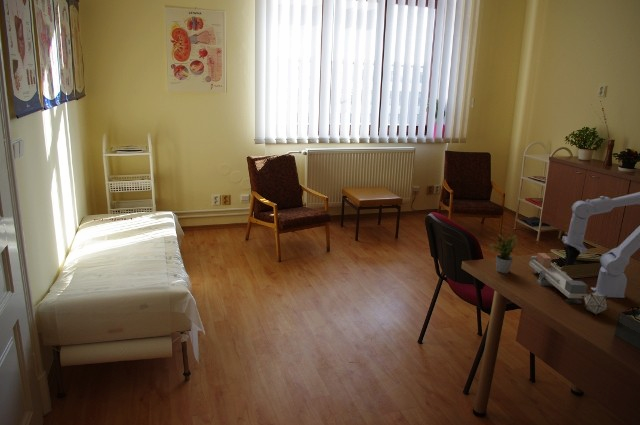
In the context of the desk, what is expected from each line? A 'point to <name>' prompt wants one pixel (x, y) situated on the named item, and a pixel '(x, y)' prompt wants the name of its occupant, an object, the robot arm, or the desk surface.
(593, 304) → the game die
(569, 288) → the beam
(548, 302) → the desk surface
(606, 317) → the desk surface
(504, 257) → the house plant
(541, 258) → the block
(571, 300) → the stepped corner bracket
